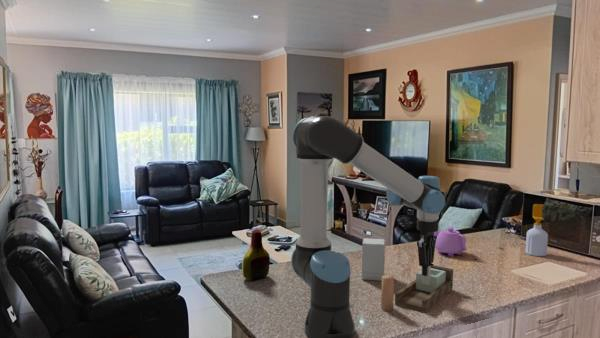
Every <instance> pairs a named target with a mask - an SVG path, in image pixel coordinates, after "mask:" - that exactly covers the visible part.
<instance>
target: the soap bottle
mask: <svg viewBox="0 0 600 338" xmlns="http://www.w3.org/2000/svg"><path fill="white" fill-rule="evenodd" d="M544 206H545V204H543V203H541V204H539V203H534V204H533V205H532V218H533V219H534V220H535V222H533V227H532V228H529V230H527V231H526V239H525V253H526V254H527V255H529V256H534V257H545V256H547V254H548V239H549V234H548V232H547V231H545V230H544V229H543V228H542V223H541V222H542V220H543V221H544V217H543V207H544Z"/></svg>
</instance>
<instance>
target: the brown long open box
mask: <svg viewBox="0 0 600 338" xmlns="http://www.w3.org/2000/svg"><path fill="white" fill-rule="evenodd" d="M431 268H433V269H438V270H443V271H446V281H445V283H444V284H442V285H441V286H440V287H439V288H437V289H436V290H435V291H433V292H432V293H430V292H426V291H422V290H418V289H416V279H415V280H413V281H411V282H410V283H408V284H407V285H406V286H404V287H403V288H401V289H399V290H398V291H396V292H395V293H394V304H395V305H396V306H401V307H403V308H407V309H411V310H415V311H418V312H422V313H427V312H428V311H429V310H430V309H432V308H433V307H434V306H435V305H436V304H438V303H439V302H440V301H441V300H442V299H444V298H445V297H446V296H447V295H448V294H449V293H451V292H452V291H453V281H454V280H453V279H454V269H453V268H449V267H448V268H447V267H444V266H443V267H442V266H438V265H433V266H431Z"/></svg>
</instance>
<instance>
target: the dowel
mask: <svg viewBox="0 0 600 338" xmlns="http://www.w3.org/2000/svg"><path fill="white" fill-rule="evenodd" d="M394 283H395V278H394V276H393V275H388V274H387V275H386V274H384V276H382V281H381V292H380V293H381V296H380V297H381V298H380V299H381V301H380V303H381V304H380V309H381V310H382V311H384V312H385V311H386V312H392V311H393V310H394V295H395V293H394V288H395V284H394Z"/></svg>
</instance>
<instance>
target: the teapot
mask: <svg viewBox="0 0 600 338" xmlns="http://www.w3.org/2000/svg"><path fill="white" fill-rule="evenodd" d="M454 229H455V228H454V227H447V229H441V231H440V232H439V230H438V231H437V232H434V235H435V236H437V239H436V244H435V250H436V251H437V254H441V253H442V254H447V256H448V257H451V258H452V257H454V255H455V254H456V255H459V254H460V255H462V253H463V252H466V251H467V247H466V243H467V238H466V237H465V235H463V234H462V233H461V232H460V231H458V230H456V229H455V230H454Z"/></svg>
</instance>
